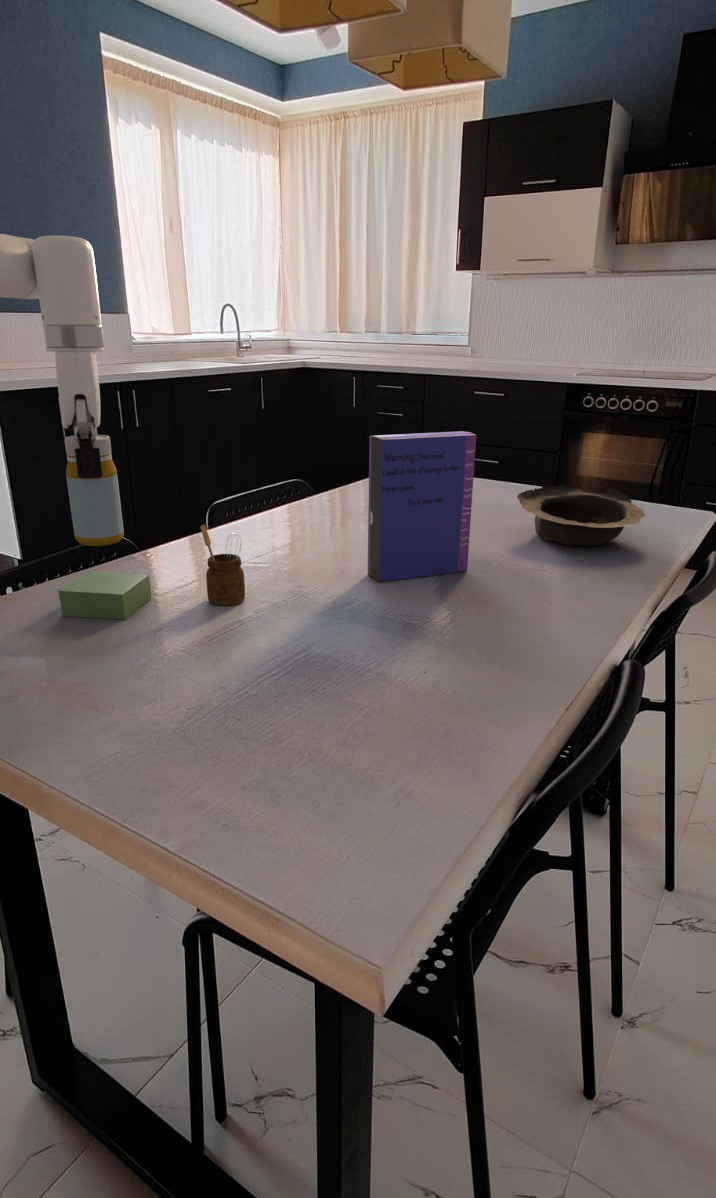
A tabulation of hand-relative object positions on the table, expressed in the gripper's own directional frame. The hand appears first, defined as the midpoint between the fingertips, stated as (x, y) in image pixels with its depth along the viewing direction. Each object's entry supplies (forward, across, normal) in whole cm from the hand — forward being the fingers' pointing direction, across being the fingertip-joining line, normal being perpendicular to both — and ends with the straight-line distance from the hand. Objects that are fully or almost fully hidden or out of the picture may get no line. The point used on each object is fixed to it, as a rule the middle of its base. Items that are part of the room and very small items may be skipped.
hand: (91, 471), depth 111 cm
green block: (+21, 0, 0) cm, 21 cm away
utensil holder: (+21, +2, +18) cm, 28 cm away
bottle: (+10, 0, 0) cm, 10 cm away
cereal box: (+21, -4, +53) cm, 57 cm away
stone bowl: (+21, -18, +94) cm, 98 cm away
